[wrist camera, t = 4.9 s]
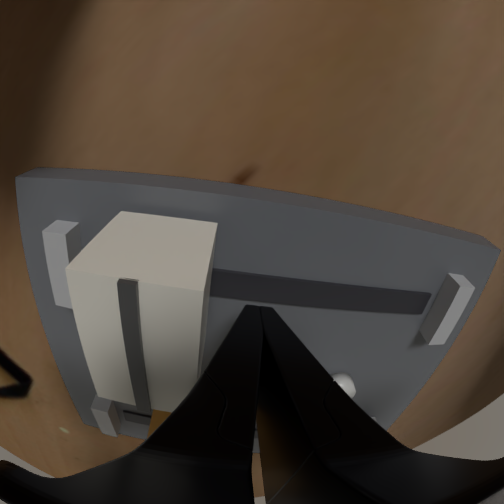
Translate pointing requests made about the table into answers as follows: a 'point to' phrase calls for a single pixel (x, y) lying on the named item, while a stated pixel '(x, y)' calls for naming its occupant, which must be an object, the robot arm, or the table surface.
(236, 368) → the robot arm
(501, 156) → the table surface
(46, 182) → the console
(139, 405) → the ivory fader
